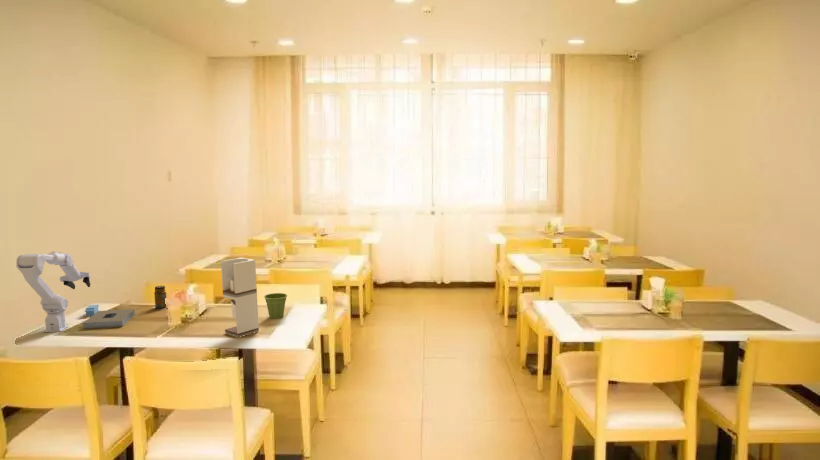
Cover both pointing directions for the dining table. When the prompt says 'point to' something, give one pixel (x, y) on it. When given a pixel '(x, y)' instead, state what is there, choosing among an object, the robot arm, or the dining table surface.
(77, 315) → the dining table surface
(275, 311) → the plant pot
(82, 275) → the robot arm
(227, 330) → the espresso maker
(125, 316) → the chassis
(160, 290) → the condiment
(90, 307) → the servo
